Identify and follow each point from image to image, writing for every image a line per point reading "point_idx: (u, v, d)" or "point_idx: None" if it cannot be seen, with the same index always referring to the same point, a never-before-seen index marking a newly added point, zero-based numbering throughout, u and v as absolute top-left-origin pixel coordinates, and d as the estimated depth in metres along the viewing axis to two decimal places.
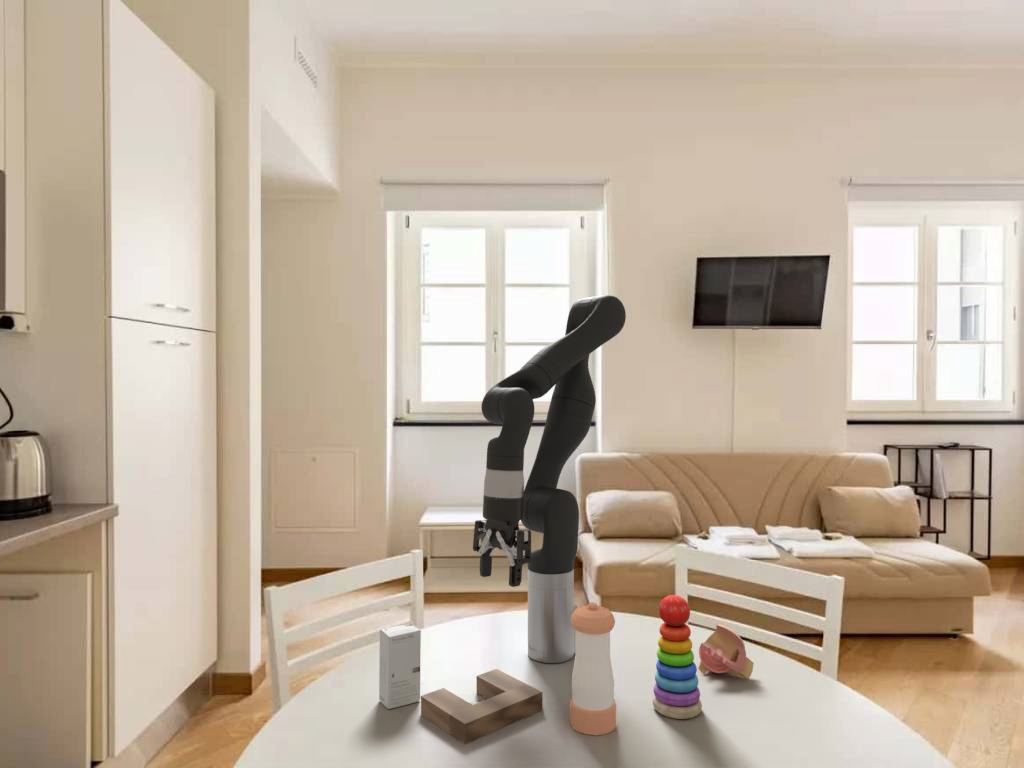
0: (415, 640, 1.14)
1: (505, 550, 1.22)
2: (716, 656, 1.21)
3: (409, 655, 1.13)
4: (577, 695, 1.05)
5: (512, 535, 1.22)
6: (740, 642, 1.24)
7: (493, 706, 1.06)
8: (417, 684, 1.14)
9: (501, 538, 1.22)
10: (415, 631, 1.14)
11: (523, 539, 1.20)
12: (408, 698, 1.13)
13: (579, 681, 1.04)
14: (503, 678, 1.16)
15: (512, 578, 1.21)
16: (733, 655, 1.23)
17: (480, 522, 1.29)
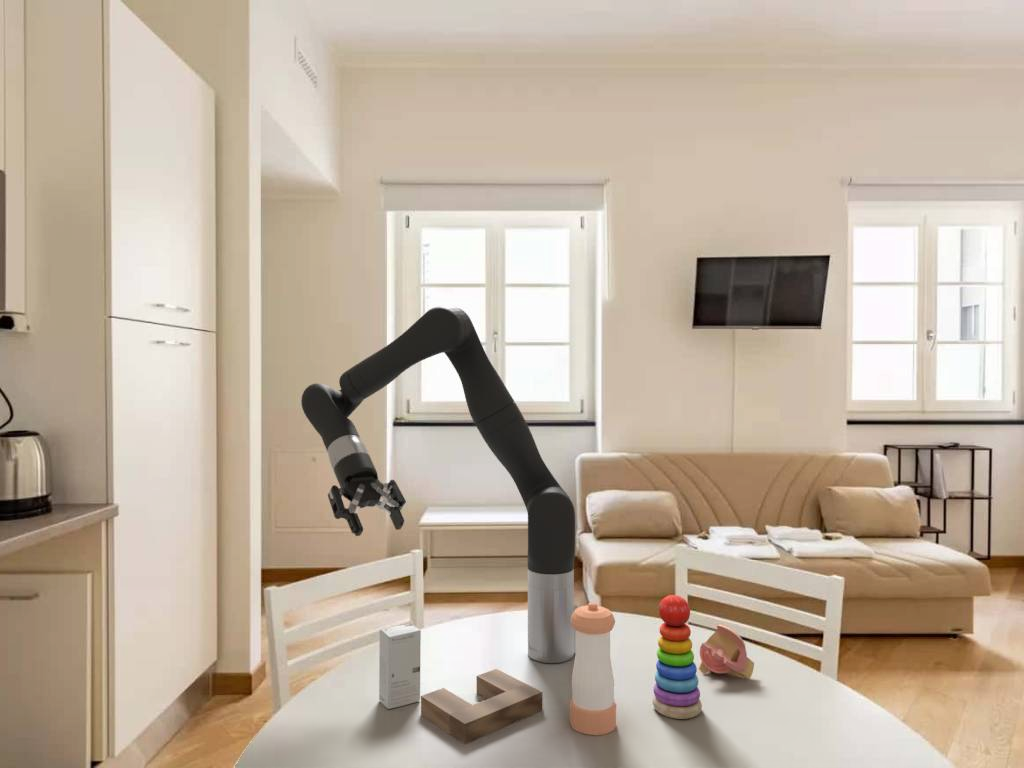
0: (415, 640, 1.14)
1: None
2: (717, 656, 1.21)
3: (409, 655, 1.13)
4: (577, 695, 1.05)
5: None
6: (741, 642, 1.24)
7: (493, 706, 1.06)
8: (417, 684, 1.14)
9: None
10: (415, 631, 1.14)
11: (330, 498, 1.26)
12: (408, 698, 1.13)
13: (579, 681, 1.04)
14: (503, 678, 1.16)
15: None
16: (734, 655, 1.23)
17: None
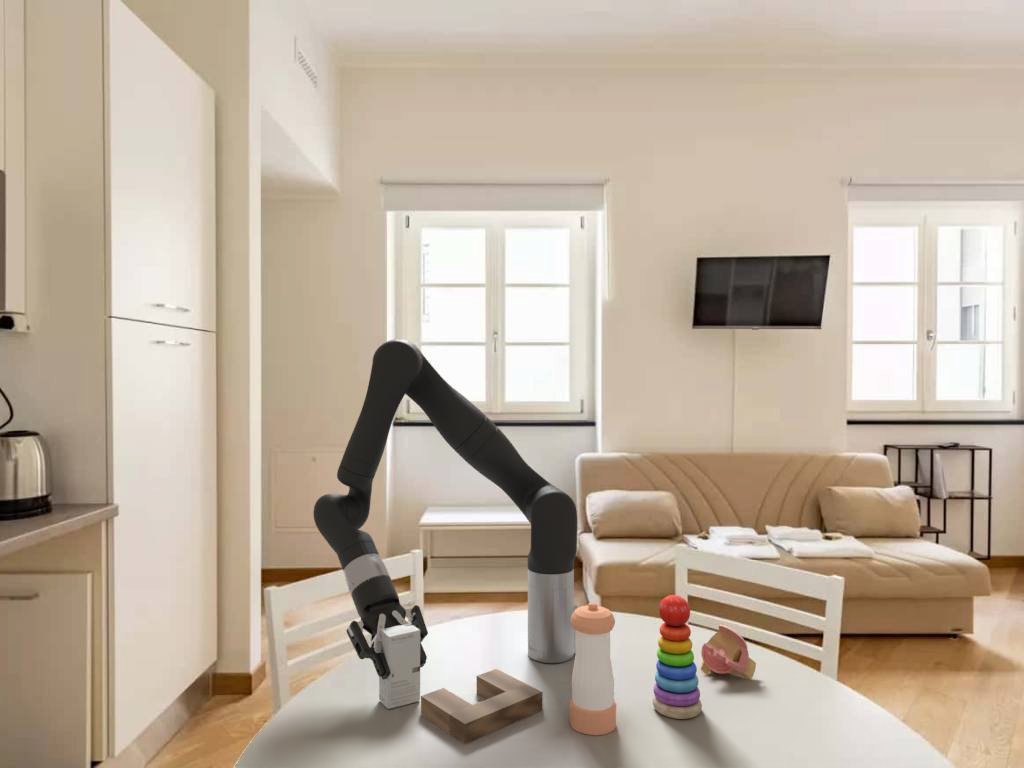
0: (415, 640, 1.14)
1: None
2: (719, 656, 1.21)
3: (409, 655, 1.13)
4: (577, 695, 1.05)
5: (363, 628, 1.16)
6: (742, 642, 1.24)
7: (493, 706, 1.06)
8: (417, 684, 1.14)
9: None
10: (415, 631, 1.14)
11: (350, 635, 1.14)
12: (408, 698, 1.13)
13: (579, 681, 1.04)
14: (503, 678, 1.16)
15: None
16: (736, 655, 1.23)
17: None
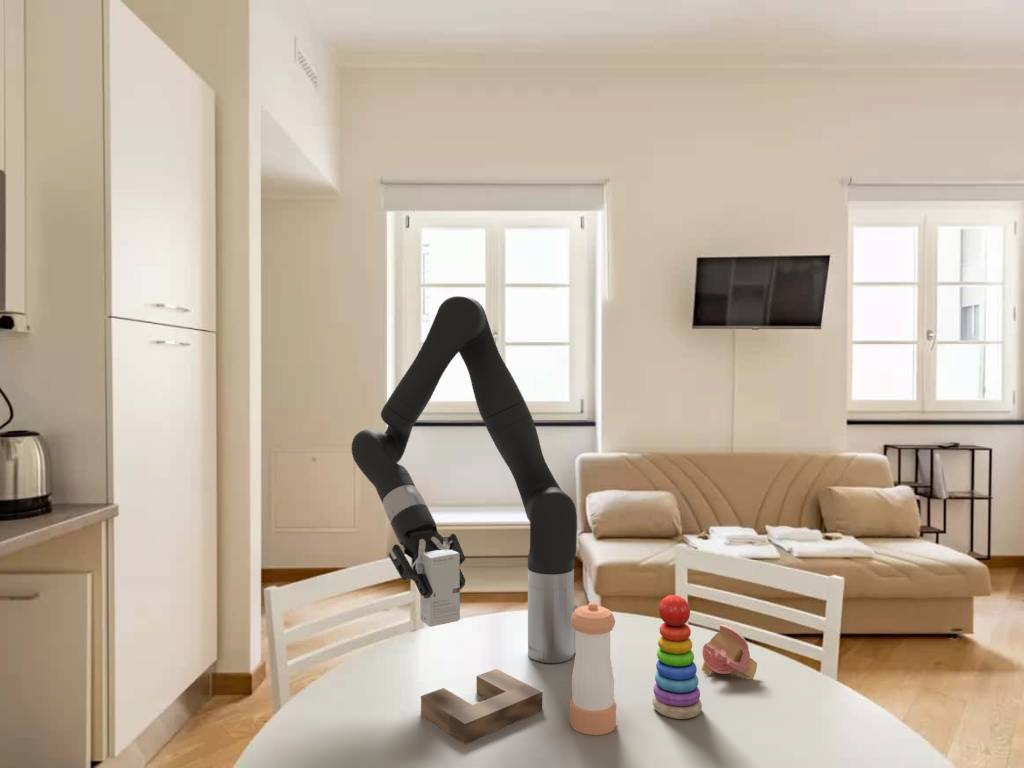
0: (454, 562, 1.19)
1: None
2: (720, 657, 1.21)
3: (449, 576, 1.18)
4: (577, 695, 1.05)
5: (404, 552, 1.21)
6: (744, 642, 1.24)
7: (493, 706, 1.06)
8: (457, 604, 1.19)
9: (412, 557, 1.22)
10: (454, 554, 1.19)
11: (392, 558, 1.19)
12: (449, 617, 1.18)
13: (579, 681, 1.04)
14: (503, 678, 1.16)
15: None
16: (737, 656, 1.23)
17: None
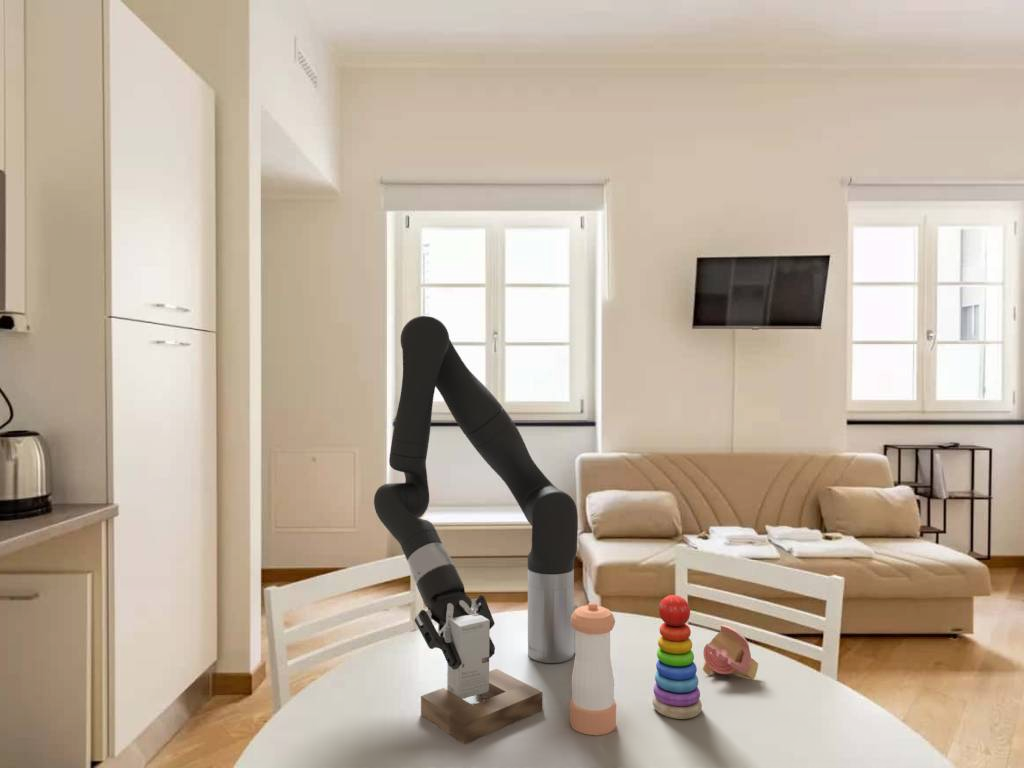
0: (484, 630, 1.12)
1: None
2: (721, 657, 1.21)
3: (479, 645, 1.12)
4: (577, 695, 1.05)
5: (430, 617, 1.14)
6: (745, 643, 1.24)
7: (493, 706, 1.06)
8: (486, 675, 1.12)
9: None
10: (484, 621, 1.12)
11: (419, 624, 1.12)
12: (478, 689, 1.11)
13: (579, 681, 1.04)
14: (503, 678, 1.16)
15: None
16: (738, 656, 1.23)
17: None
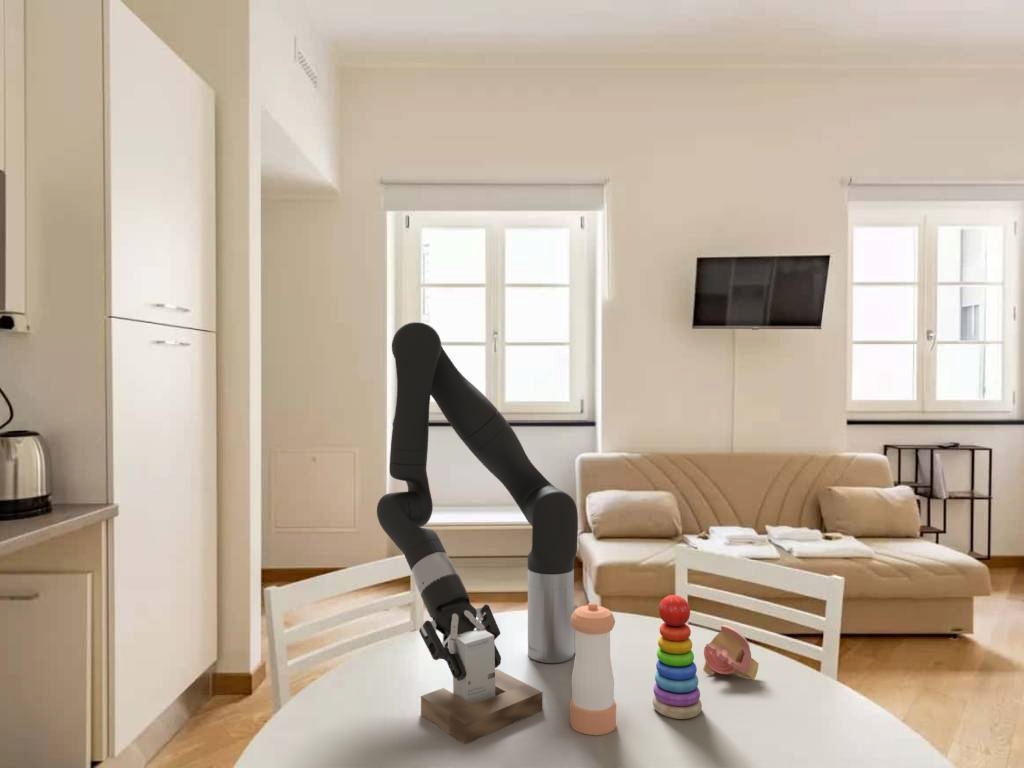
0: (489, 645, 1.12)
1: None
2: (721, 657, 1.21)
3: (484, 661, 1.11)
4: (577, 695, 1.05)
5: (435, 628, 1.13)
6: (745, 643, 1.24)
7: (493, 706, 1.06)
8: (492, 690, 1.12)
9: None
10: (489, 636, 1.12)
11: (423, 635, 1.11)
12: None
13: (579, 681, 1.04)
14: (503, 678, 1.16)
15: None
16: (738, 656, 1.23)
17: None
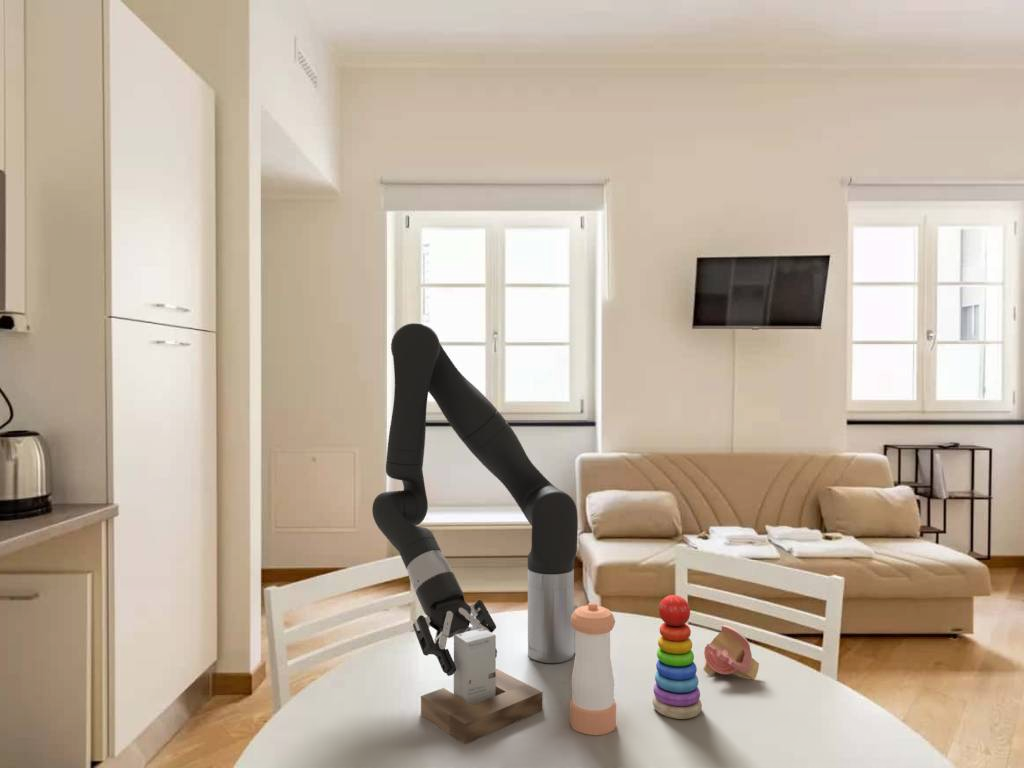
0: (491, 645, 1.12)
1: None
2: (722, 657, 1.21)
3: (485, 661, 1.11)
4: (577, 695, 1.05)
5: None
6: (745, 643, 1.24)
7: (493, 706, 1.06)
8: (493, 690, 1.12)
9: None
10: (490, 636, 1.12)
11: (416, 630, 1.13)
12: None
13: (579, 681, 1.04)
14: (503, 678, 1.16)
15: None
16: (739, 656, 1.23)
17: None
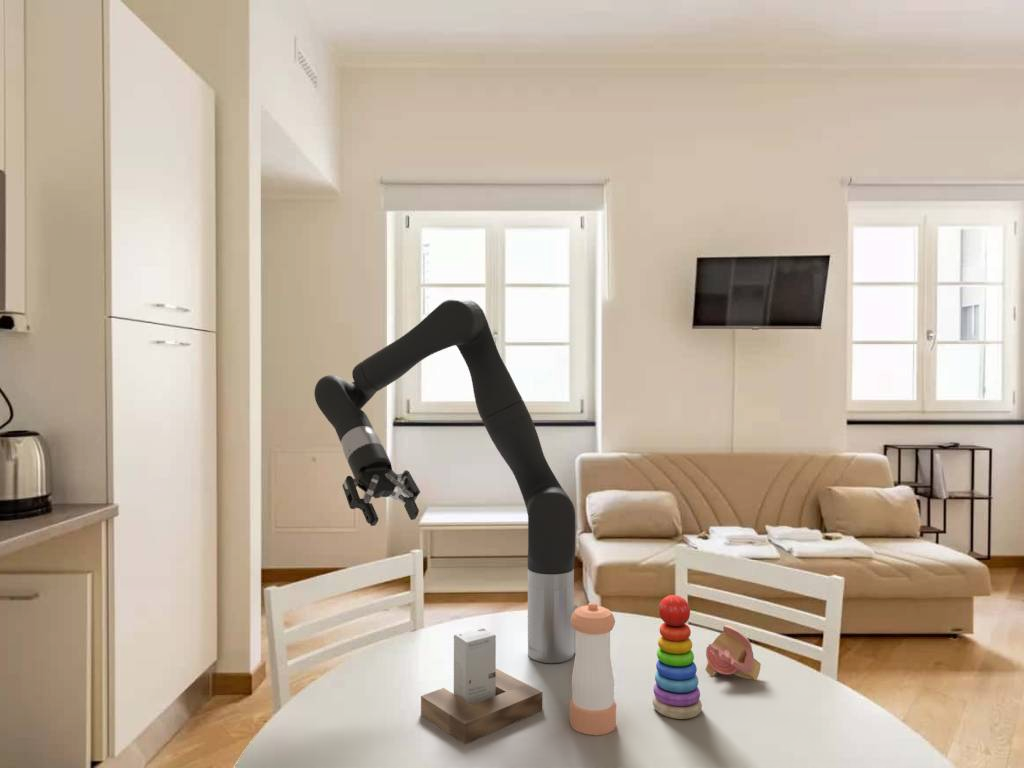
0: (491, 645, 1.12)
1: None
2: (724, 657, 1.21)
3: (485, 661, 1.11)
4: (577, 695, 1.05)
5: None
6: (747, 643, 1.24)
7: (493, 706, 1.06)
8: (493, 690, 1.12)
9: None
10: (490, 636, 1.12)
11: (344, 488, 1.26)
12: None
13: (579, 681, 1.04)
14: (503, 678, 1.16)
15: None
16: (740, 656, 1.23)
17: None
